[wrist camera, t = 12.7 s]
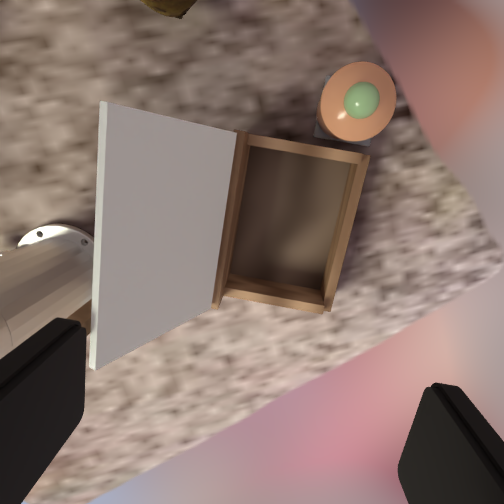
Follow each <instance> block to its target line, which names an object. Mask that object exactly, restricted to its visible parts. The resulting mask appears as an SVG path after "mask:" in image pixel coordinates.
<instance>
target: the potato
mask: <svg viewBox="0 0 504 504" xmlns="http://www.w3.org/2000/svg"><path fill="white" fill-rule="evenodd" d="M140 1H142V2H143V3H144V4H146V5H147V6H148V7H149V8H151V9H153V10H154V11H156V12H158V13H160V14H162V15H165V16H169V17H176V18H179V19H182V18H183V15H185V14H186V12H187V11H188V10H189V9H190V7H191V6H192V5H193V4H194V3H195V2H196V1H197V0H140Z"/></svg>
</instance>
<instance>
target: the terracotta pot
mask: <svg viewBox="0 0 504 504" xmlns="http://www.w3.org/2000/svg"><path fill="white" fill-rule="evenodd" d="M395 106H396V90H395V86H394V83H393V81H392V79H391V77H390V76H389V74H388V73H387V72H386V71H385V70H384V69H383V68H381V67H380V66H378V65H376V64H373V63H370V62H354V63H351V64H348V65H346V66H344V67H342V68H341V69H339V70H338V71H337V72H335V73H334V74H333V76H332V77H331V78H330V79H329V81H328V82H327V83H326V85H325V87H324V89H323V92H322V94H321V98H320V101H319V103H318V106H317V121H318V124H319V126H320V128H321V129H322V131H323V132H324V133H325V134H327V135H328V136H330V137H332V138H335V139H341V140H345V141H351V142H352V141H362V140H366V139H369V138H371V137H373V136H375V135H377V134H378V133H379V132H381V131H382V130H383V129H384V128H385V127H386V125H387V124H388V123H389V121H390V119H391V117H392V115H393V113H394V110H395Z"/></svg>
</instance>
